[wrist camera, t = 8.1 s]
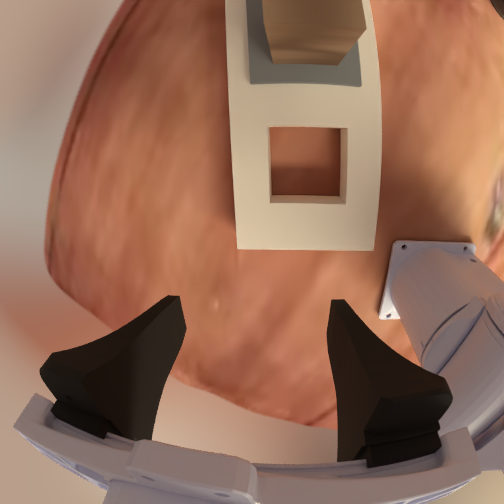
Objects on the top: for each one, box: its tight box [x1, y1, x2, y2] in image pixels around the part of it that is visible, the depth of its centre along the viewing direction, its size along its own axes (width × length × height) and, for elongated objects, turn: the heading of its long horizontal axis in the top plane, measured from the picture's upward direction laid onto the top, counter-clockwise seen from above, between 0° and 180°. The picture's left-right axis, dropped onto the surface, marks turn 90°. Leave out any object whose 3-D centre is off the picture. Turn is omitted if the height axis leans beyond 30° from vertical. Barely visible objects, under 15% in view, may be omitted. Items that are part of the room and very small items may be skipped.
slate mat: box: [246, 0, 362, 87], centre depth 13 cm, size 7×7×1 cm
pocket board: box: [225, 0, 382, 251], centre depth 16 cm, size 10×20×2 cm, turn 3°
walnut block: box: [262, 0, 367, 66], centre depth 10 cm, size 4×4×7 cm
